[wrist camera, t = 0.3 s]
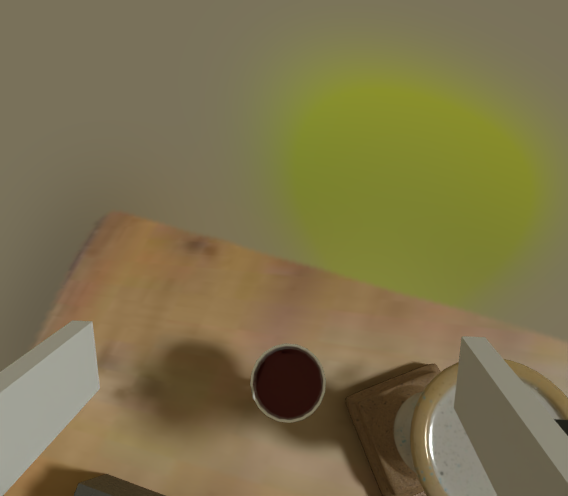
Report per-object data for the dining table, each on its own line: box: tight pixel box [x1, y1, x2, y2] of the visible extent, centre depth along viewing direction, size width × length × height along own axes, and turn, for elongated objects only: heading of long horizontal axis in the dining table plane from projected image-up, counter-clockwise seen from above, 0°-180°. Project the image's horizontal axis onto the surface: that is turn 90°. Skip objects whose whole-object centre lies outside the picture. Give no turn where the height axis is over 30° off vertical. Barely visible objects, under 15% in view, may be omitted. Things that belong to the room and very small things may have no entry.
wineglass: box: [250, 344, 326, 423], centre depth 43 cm, size 7×7×12 cm
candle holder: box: [346, 359, 568, 496], centre depth 35 cm, size 11×11×24 cm
